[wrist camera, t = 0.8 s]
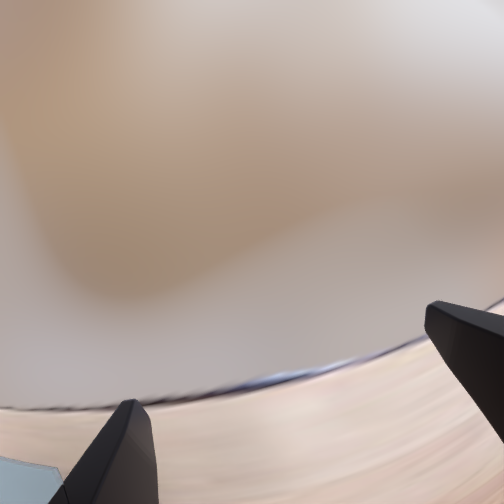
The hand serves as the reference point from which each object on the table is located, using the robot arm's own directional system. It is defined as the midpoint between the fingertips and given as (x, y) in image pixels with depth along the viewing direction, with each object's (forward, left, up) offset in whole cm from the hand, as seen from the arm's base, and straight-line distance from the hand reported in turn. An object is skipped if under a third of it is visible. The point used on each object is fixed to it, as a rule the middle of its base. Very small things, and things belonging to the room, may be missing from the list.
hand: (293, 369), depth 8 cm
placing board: (-6, +32, -15) cm, 36 cm away
